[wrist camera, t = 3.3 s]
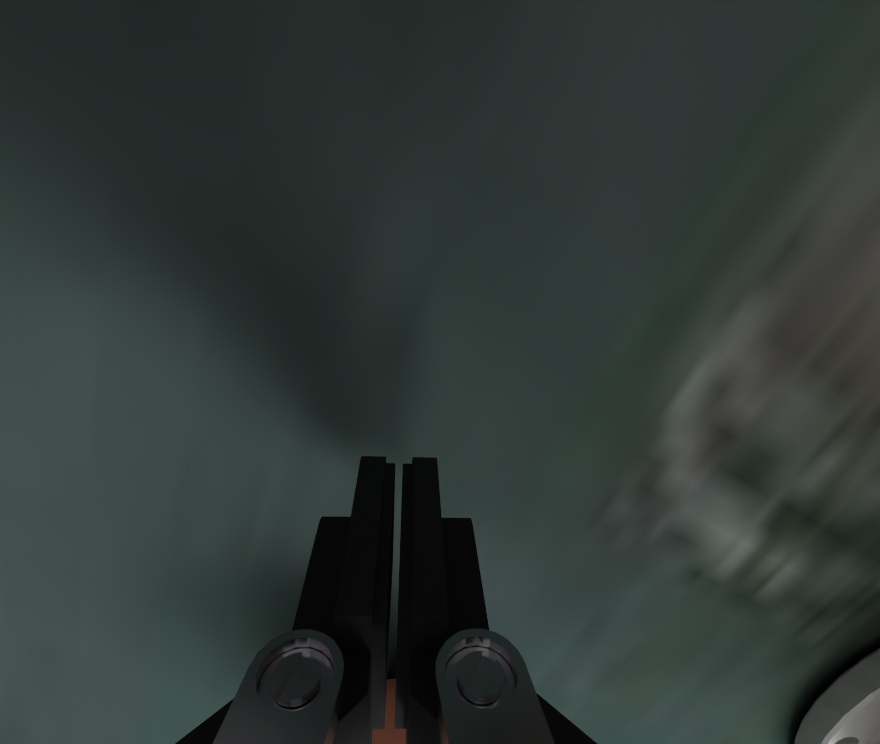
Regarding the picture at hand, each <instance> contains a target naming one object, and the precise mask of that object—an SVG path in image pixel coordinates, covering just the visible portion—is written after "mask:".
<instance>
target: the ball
mask: <svg viewBox="0 0 880 744" xmlns="http://www.w3.org/2000/svg"><path fill="white" fill-rule="evenodd" d="M395 689H396V678H394V679H387V687H386V707H385V726H384V729H373V733H372V744H406V729H394V720H395Z"/></svg>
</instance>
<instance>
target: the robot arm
mask: <svg viewBox="0 0 880 744" xmlns="http://www.w3.org/2000/svg"><path fill="white" fill-rule="evenodd" d="M394 492H395V463H386V457H375V456H362V457H361V460H360V466H359V472H358V478H357V484H356V490H355V496H354V501H353V507H352V513H351V517H322V518H321V519H320V522H319V526H318V530H317V534H316V538H315V542H314V546H313V550H312V553H311V557H310V561H309V565H308V569H307V573H306V577H305V581H304V585H303V589H302V593H301V597H300V601H299V605H298V609H297V613H296V617H295V621H294V625H293V629H292V631H291V632H287V633H284V634H282V635H280V636H278V637H277V638H275V639H273V640H271V641H270V642H269V643H268V644H267V645H265V646H264V647H263V648H262V649H261V650H260V651H259V652H258V653H257V655H256V656H255V658H254V659H253V661H252V663H251V664H250V666H249V668H248V670H247V672H246V674H245V676H244V678H243V680H242V683H241V685H240V687H239V689H238V691H237V693H236V695H235V697H234V699H233V700H231V701H230V702H229V703H227V704H226V705H225V706H224V707H222V708H221V709H220V710H218V711H217V712H216V713H214V714H213V715H212V716H211V717H209V718H208V719H207V720H205V721H204V722H203V723H202V724H200V725H199V726H198V727H196V728H195V729H194V730H192V731H191V732H190V733H189V734H187V735H186V736H185V737H183V738H182V739H181V740H180V741H178V742H177V743H176V744H372V733H373V729H384V726H385V707H386V687H387V667H388V647H389V627H390V607H391V587H392V566H393V532H394ZM394 729H406V744H597V743H596V742H594V741H593V740H592V739H591V738H590V737H588V736H587V735H586V734H585V733H584V732H582V731H581V730H580V729H579V728H578V727H576V726H575V725H574V724H573V723H572V722H570V721H569V720H568V719H567V718H566V717H565V716H563V715H562V714H561V713H560V712H559V711H557V710H556V709H555V708H554V707H553V706H551V705H550V704H549V703H548V702H547V701H545V700H544V699H543V698H542V697H541V696H539V695H538V694H537V693H536V691H535V689H534V686H533V683H532V681H531V678H530V675H529V672H528V670H527V667H526V664H525V662H524V660H523V658H522V656H521V655H520V653H519V651H518V650H517V649H516V647H515V646H514V645H513V644H512V643H511V642H510V641H509V640H508V639H506V638H504V637H503V636H501V635H499V634H498V633H496V632H493V631H489V626H488V620H487V613H486V607H485V601H484V594H483V588H482V581H481V575H480V569H479V562H478V556H477V550H476V543H475V537H474V530H473V525H472V520H471V518H441V506H440V493H439V479H438V466H437V458H424V457H413V459H412V464H403V477H402V508H401V538H400V568H399V598H398V629H397V659H396V689H395V720H394ZM795 744H880V648H879V649H877V650H876V651H874V652H872V653H871V654H869V655H867V656H866V657H864V658H862V659H861V660H860V661H859V662H857V663H856V664H855V665H853V666H852V667H851V668H850V669H848V670H847V671H846V672H844V673H843V674H842V675H840V676H839V677H838V678H837V679H836V680H835V681H834V682H833V683H832V684H831V685H830V686H829V687H828V688H827V689H826V690H825V691H824V692H823V693H822V694H821V695H820V696H819V697H818V698H817V699H816V700H815V702H814V703H813V705H812V706H811V708H810V709H809V710H808V712H807V713H806V715H805V716H804V718H803V719H802V722H801V725H800V727H799V730H798V732H797V735H796V737H795Z"/></svg>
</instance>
